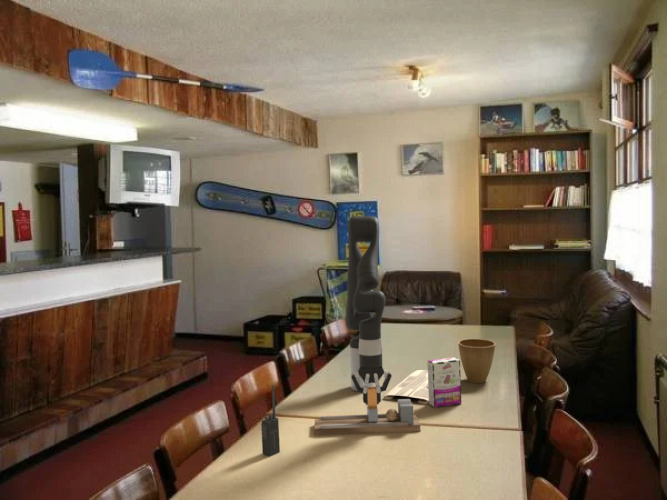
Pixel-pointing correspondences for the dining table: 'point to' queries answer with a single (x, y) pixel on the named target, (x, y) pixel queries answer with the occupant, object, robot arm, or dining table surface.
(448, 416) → the dining table surface
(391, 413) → the smooth beige ball
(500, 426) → the dining table surface
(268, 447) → the walkie-talkie
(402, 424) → the base
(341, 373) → the dining table surface
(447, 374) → the candy bar box
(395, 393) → the newspaper
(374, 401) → the sliding jaw
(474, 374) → the plant pot
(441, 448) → the dining table surface
